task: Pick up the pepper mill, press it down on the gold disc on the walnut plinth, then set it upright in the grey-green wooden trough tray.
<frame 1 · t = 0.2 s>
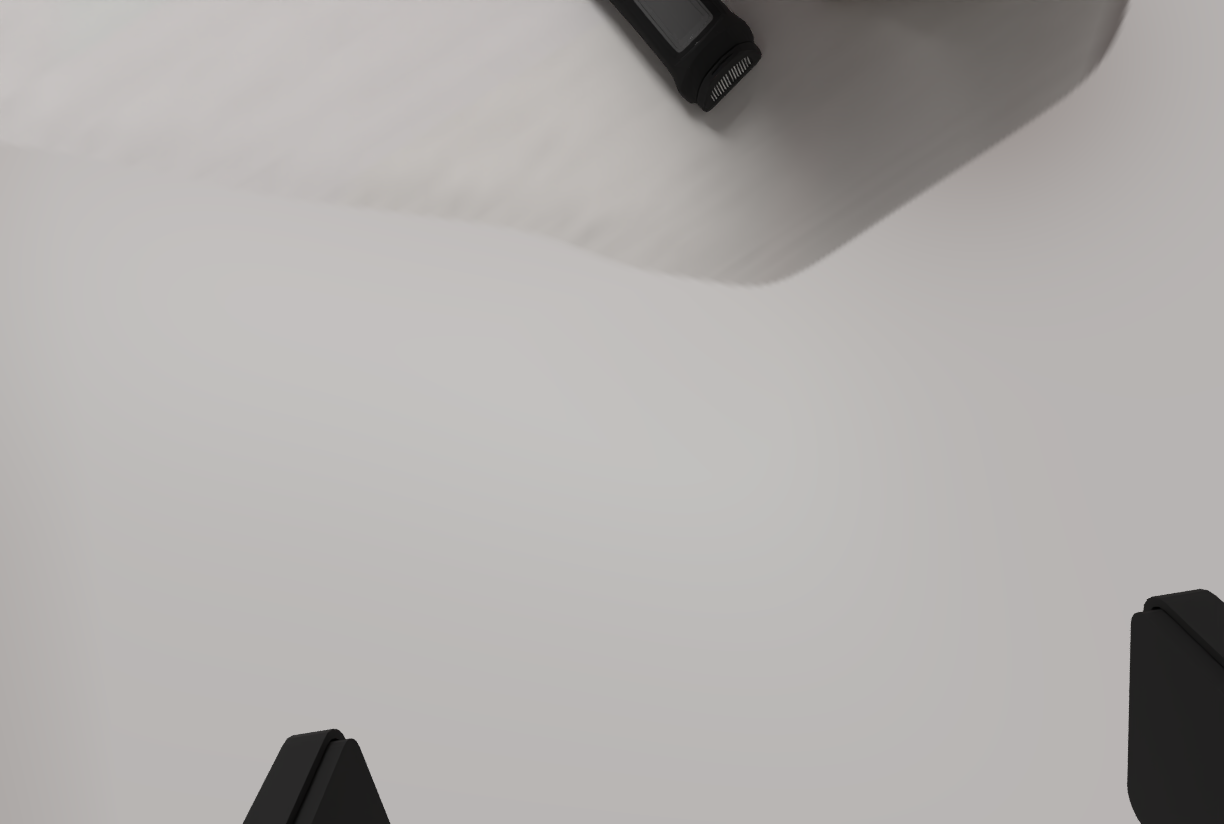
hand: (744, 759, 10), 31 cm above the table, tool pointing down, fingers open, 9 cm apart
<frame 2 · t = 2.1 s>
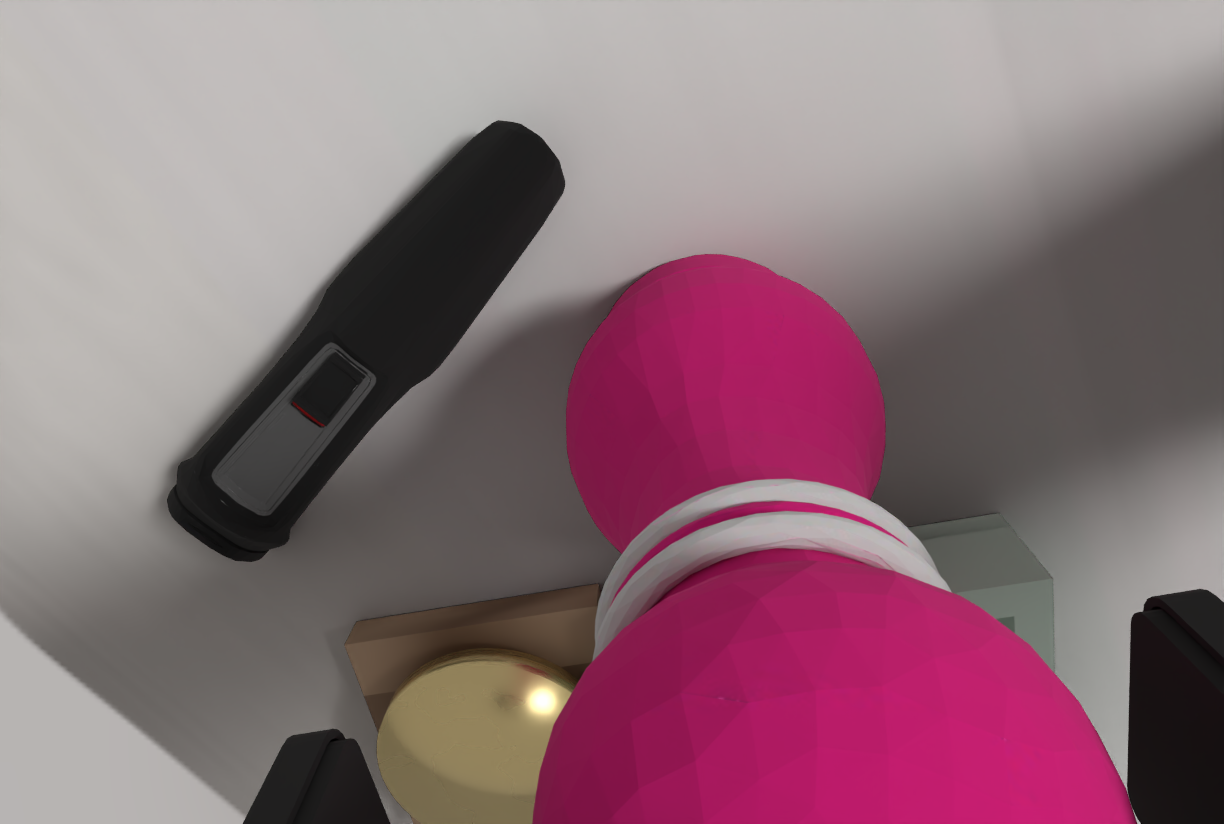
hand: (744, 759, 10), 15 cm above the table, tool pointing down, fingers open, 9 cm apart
checker plinth: (506, 702, 28), on the table
electric trimmer: (364, 343, 24), on the table
pepper mill: (706, 361, 24), on the table
gold disc: (498, 739, 27), point 2 cm above the table, slide at -0.2 cm
trough tray: (826, 693, 28), on the table
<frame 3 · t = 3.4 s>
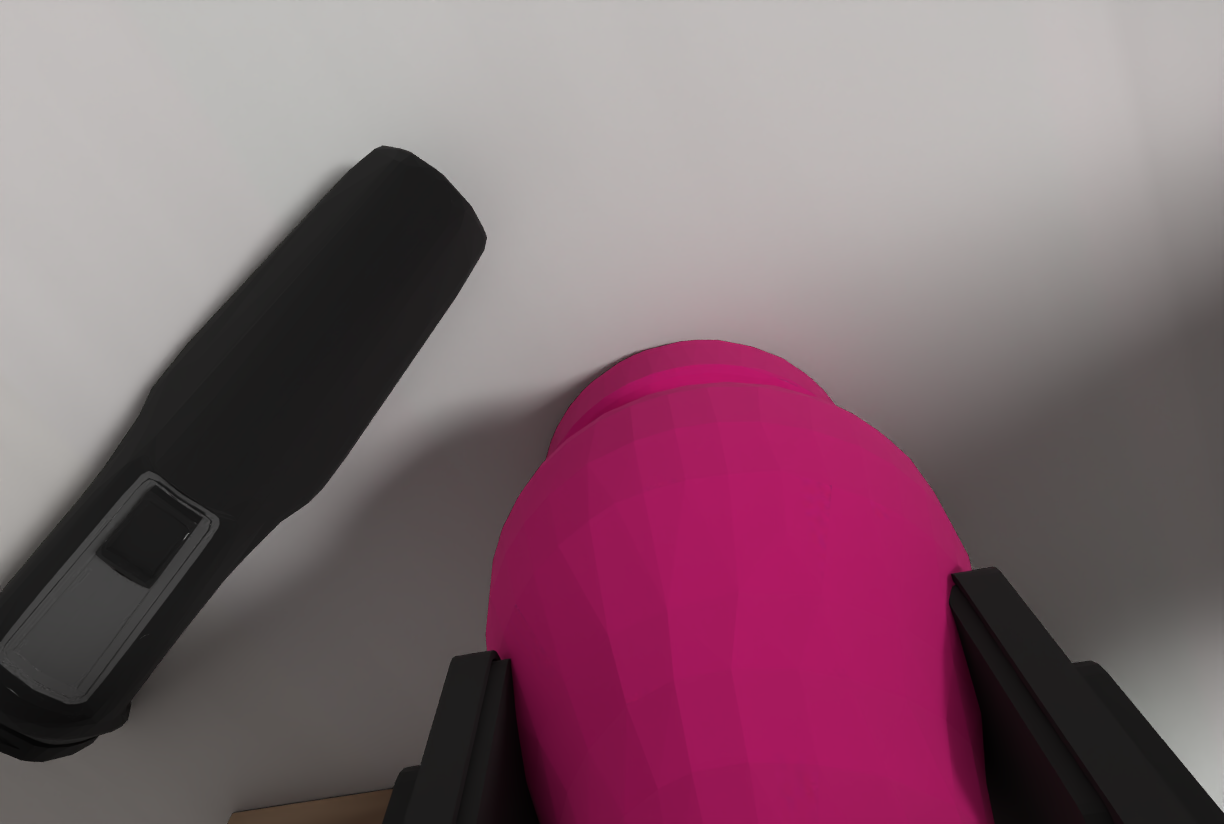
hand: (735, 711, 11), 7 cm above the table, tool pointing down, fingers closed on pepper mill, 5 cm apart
electric trimmer: (221, 453, 17), on the table
pepper mill: (697, 481, 17), on the table, touching gripper
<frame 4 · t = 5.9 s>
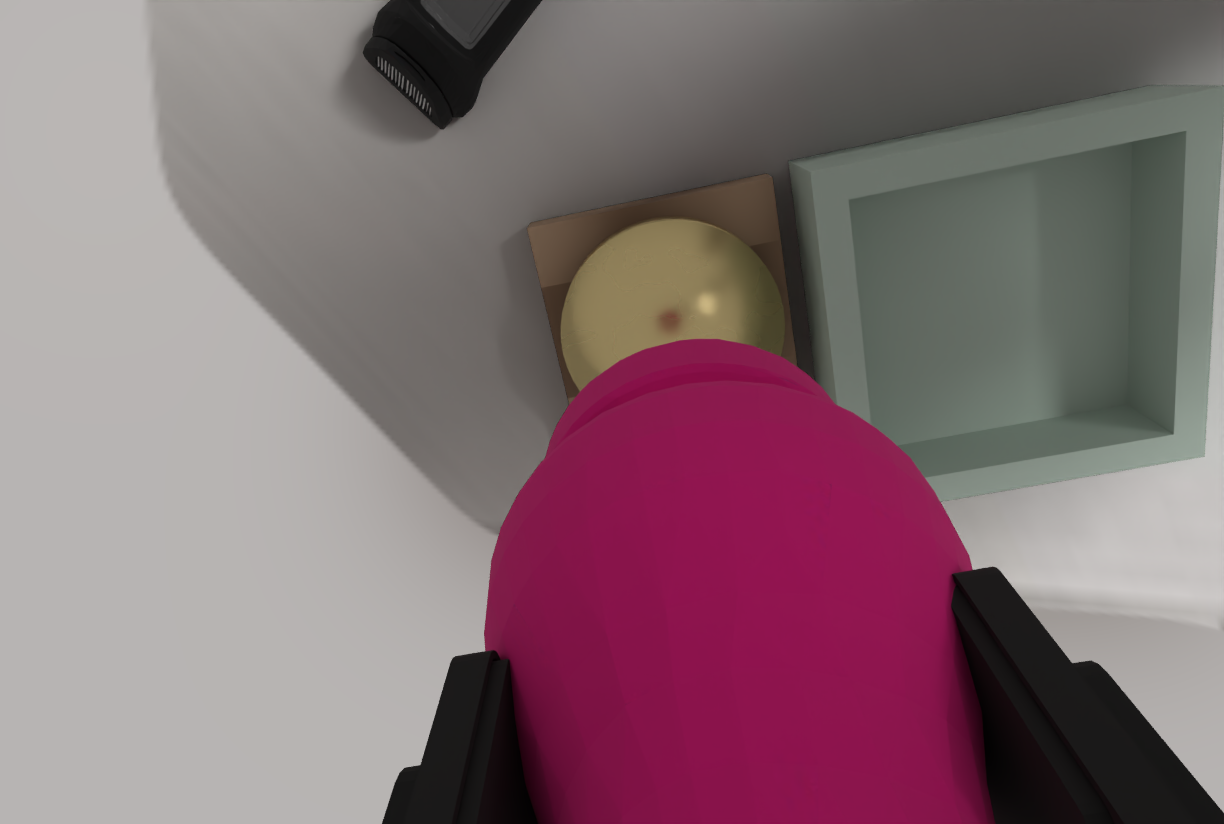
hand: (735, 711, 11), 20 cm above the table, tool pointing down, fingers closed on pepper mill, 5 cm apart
checker plinth: (668, 312, 29), on the table
pepper mill: (697, 480, 17), point 13 cm above the table, touching gripper
gold disc: (671, 326, 28), point 2 cm above the table, slide at -0.2 cm
trough tray: (975, 295, 29), on the table
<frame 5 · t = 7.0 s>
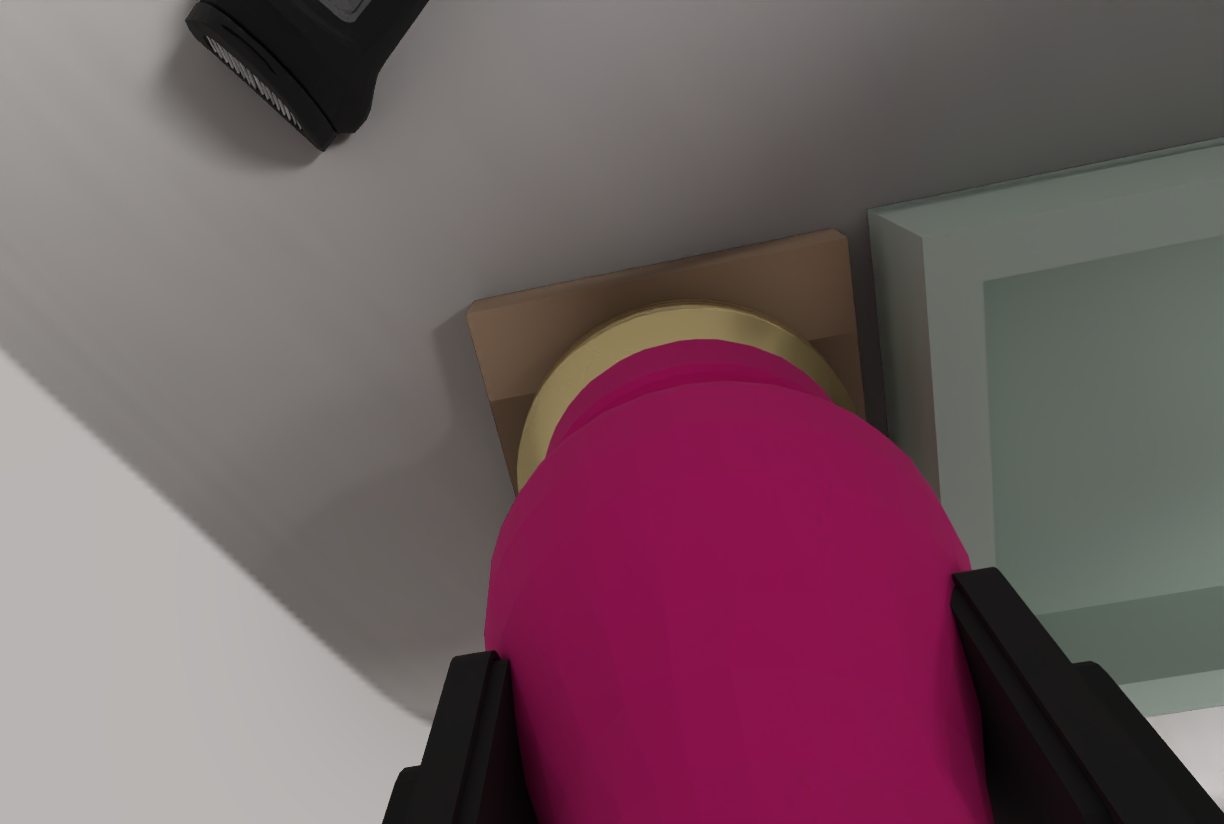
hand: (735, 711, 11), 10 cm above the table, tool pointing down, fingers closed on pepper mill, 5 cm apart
checker plinth: (682, 430, 20), on the table
pepper mill: (696, 480, 17), point 3 cm above the table, touching gripper
gold disc: (687, 460, 18), point 2 cm above the table, slide at -0.2 cm
trough tray: (1139, 406, 19), on the table
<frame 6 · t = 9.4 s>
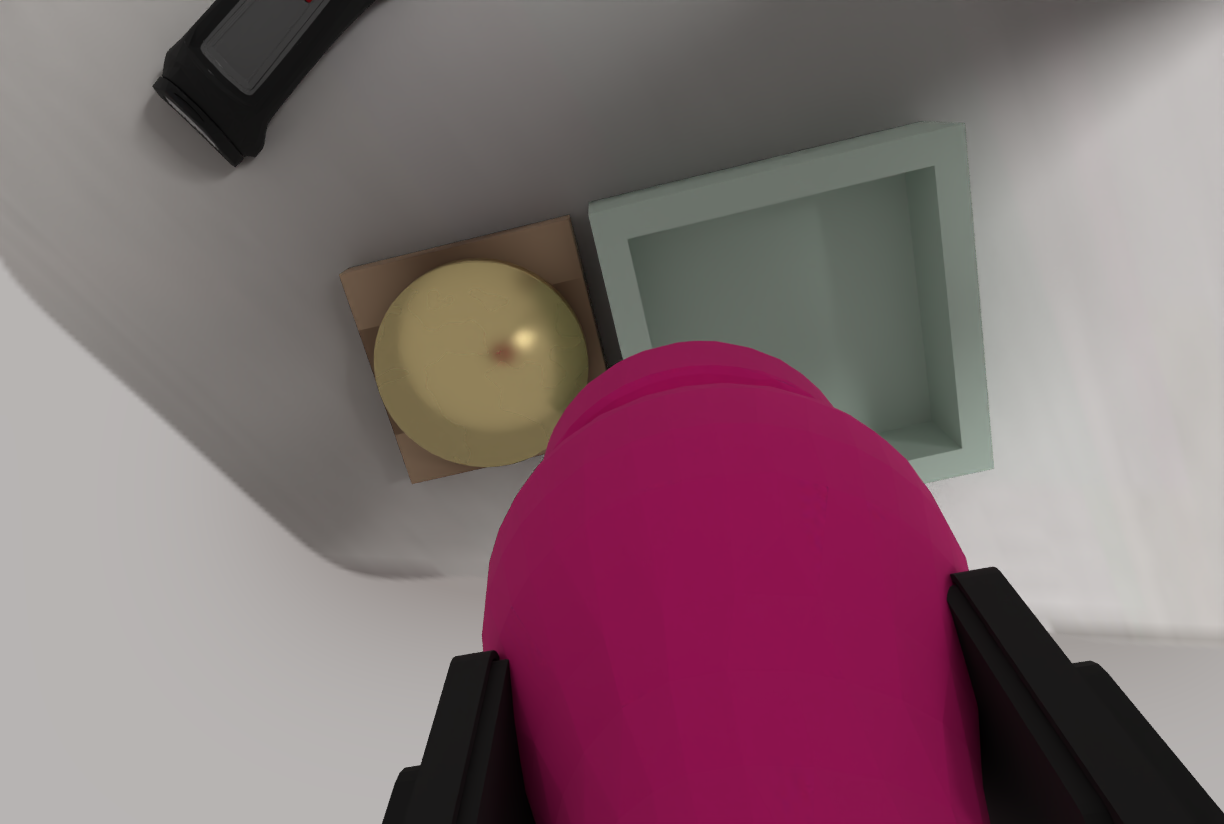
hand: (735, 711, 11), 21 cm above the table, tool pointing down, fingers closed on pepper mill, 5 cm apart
checker plinth: (490, 349, 31), on the table
pepper mill: (695, 482, 17), point 14 cm above the table, touching gripper
gold disc: (484, 361, 29), point 2 cm above the table, slide at -0.3 cm
trough tray: (780, 322, 30), on the table
when the fingers open (8 cm above the table, at t = 11.8 s): pepper mill stays where it is, resting on trough tray.
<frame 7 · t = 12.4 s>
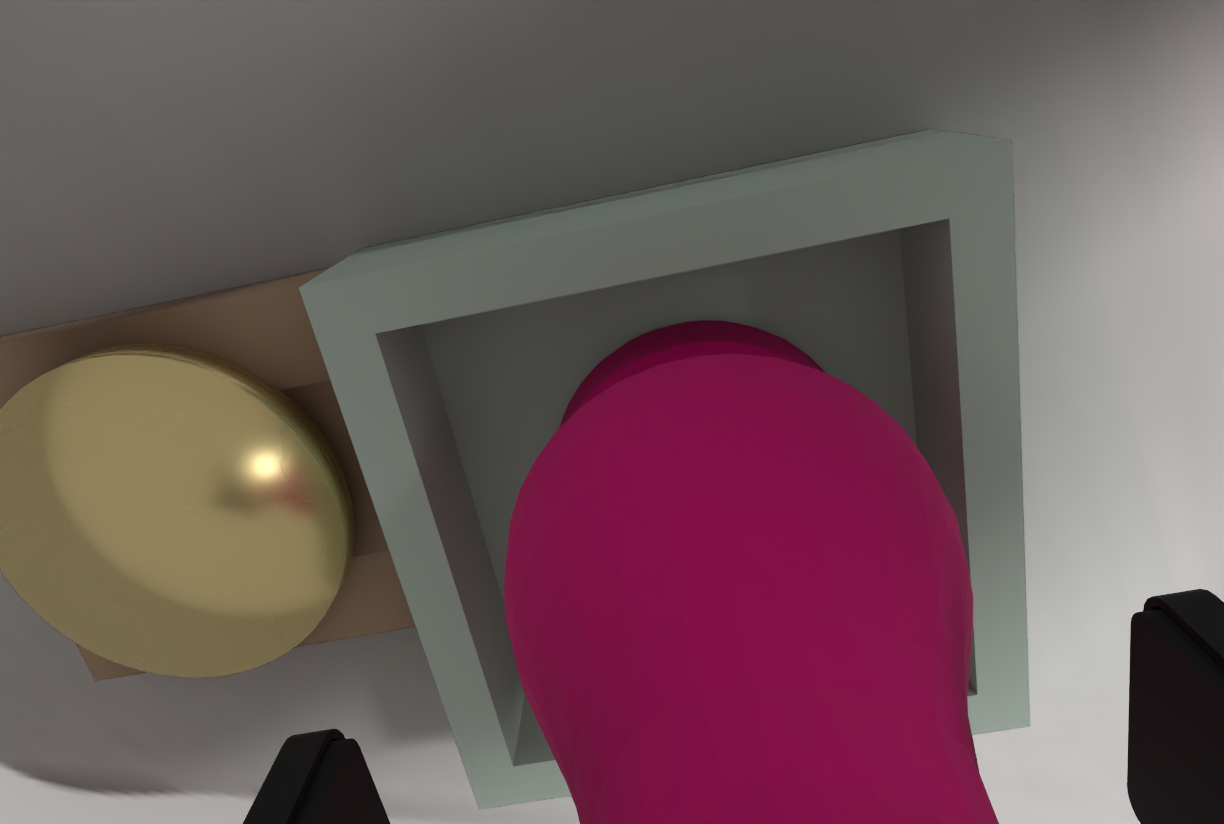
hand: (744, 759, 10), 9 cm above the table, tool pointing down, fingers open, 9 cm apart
checker plinth: (217, 475, 19), on the table
pepper mill: (701, 456, 18), point 1 cm above the table, touching trough tray
gold disc: (183, 508, 17), point 2 cm above the table, slide at -0.3 cm
trough tray: (687, 451, 19), on the table
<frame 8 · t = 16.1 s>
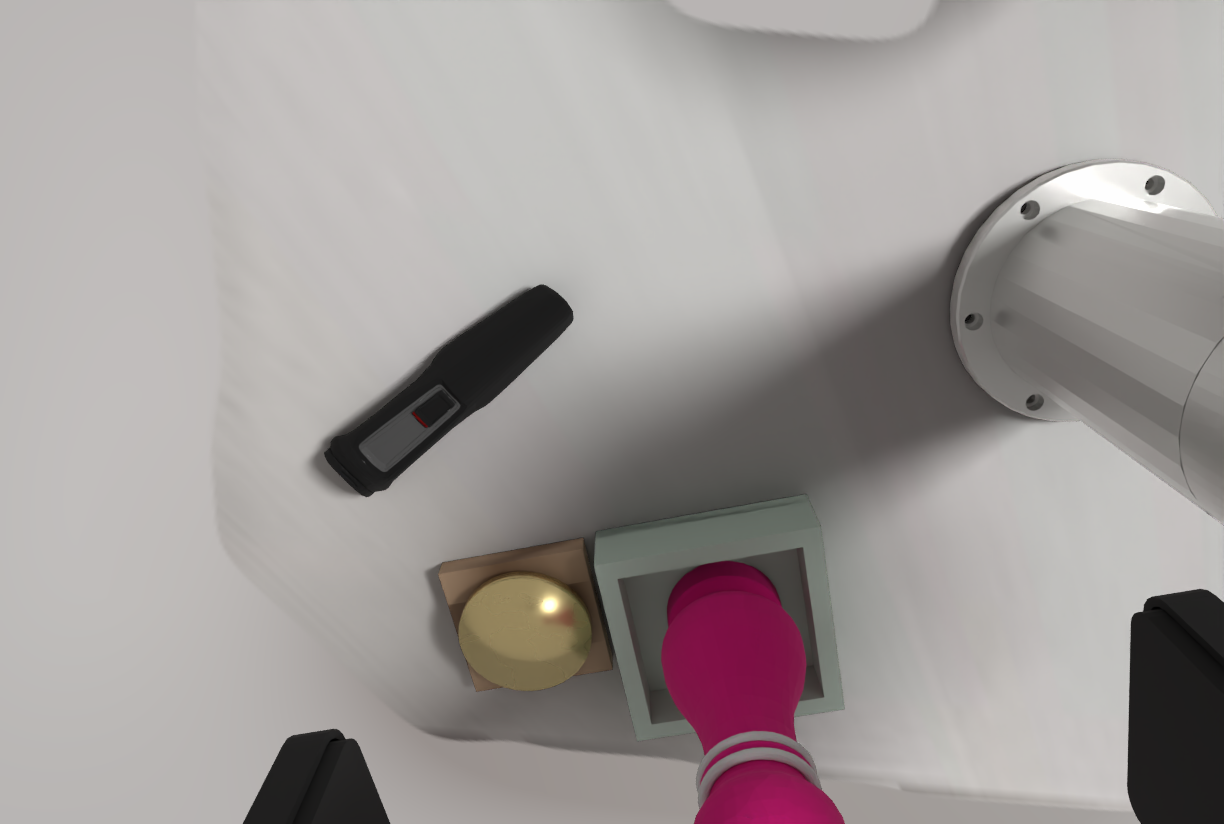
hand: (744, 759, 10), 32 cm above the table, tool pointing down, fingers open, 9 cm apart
checker plinth: (529, 610, 48), on the table
electric trimmer: (447, 382, 43), on the table
pepper mill: (722, 605, 47), point 1 cm above the table, touching trough tray
gold disc: (526, 626, 46), point 2 cm above the table, slide at -0.3 cm
trough tray: (716, 601, 47), on the table
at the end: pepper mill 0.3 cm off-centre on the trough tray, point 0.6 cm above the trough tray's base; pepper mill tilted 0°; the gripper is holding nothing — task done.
